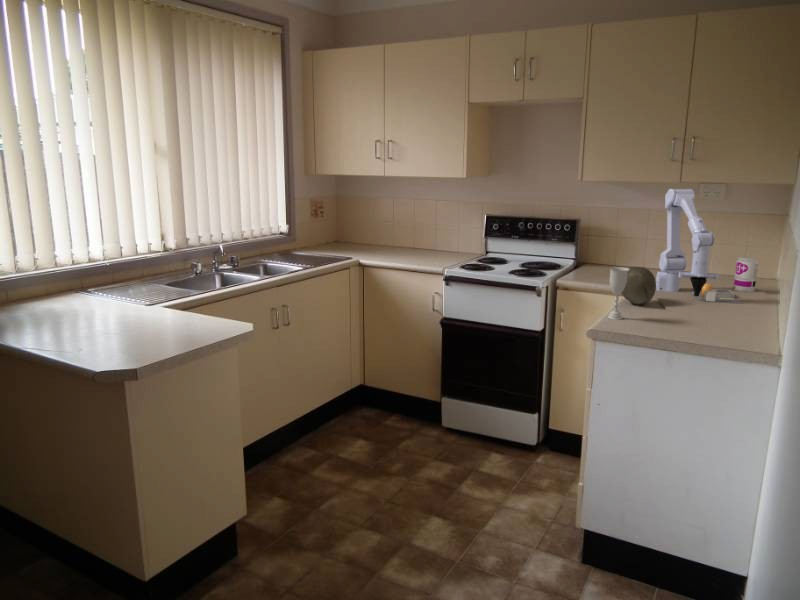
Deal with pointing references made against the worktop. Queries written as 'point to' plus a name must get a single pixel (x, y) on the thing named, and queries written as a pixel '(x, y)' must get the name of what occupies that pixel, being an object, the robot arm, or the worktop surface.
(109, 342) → the worktop surface
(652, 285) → the cantaloupe
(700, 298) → the breaker panel
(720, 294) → the frame
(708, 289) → the cap
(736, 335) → the worktop surface
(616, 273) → the chalice
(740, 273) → the supplement can
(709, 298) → the handle
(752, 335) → the worktop surface
